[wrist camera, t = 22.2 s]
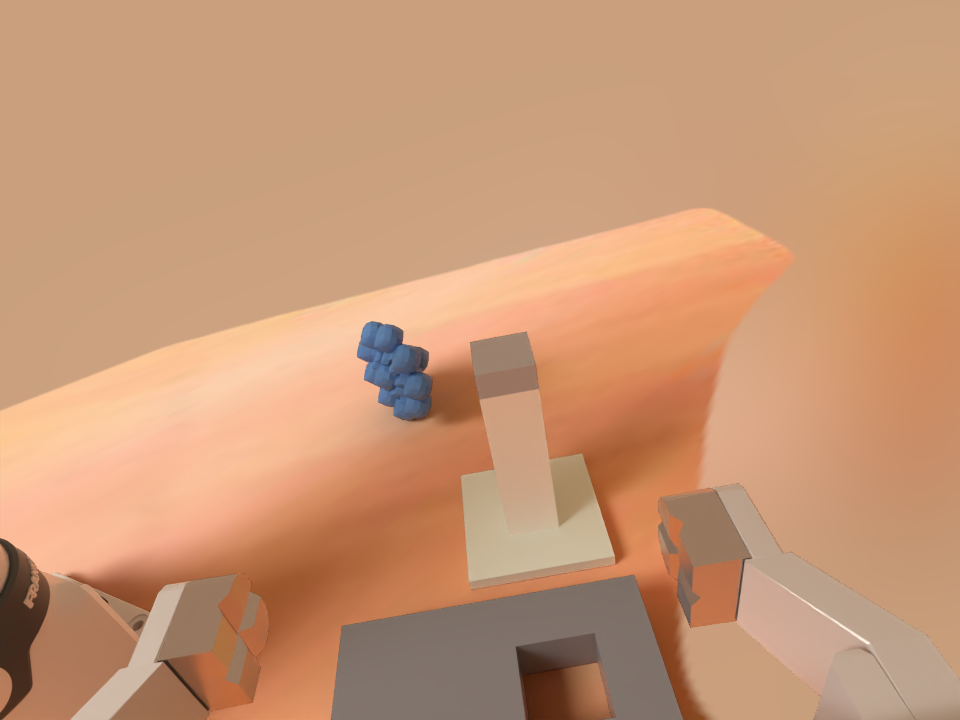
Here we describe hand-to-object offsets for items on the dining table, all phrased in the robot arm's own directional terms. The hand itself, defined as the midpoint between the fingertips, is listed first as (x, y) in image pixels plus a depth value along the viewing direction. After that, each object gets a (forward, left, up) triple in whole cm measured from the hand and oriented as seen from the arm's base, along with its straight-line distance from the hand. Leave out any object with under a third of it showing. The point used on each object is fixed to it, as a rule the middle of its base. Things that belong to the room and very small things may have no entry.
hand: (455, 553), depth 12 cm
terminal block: (-9, +7, -30) cm, 32 cm away
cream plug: (-15, +21, -29) cm, 39 cm away
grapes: (-33, +27, -30) cm, 53 cm away
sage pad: (-15, +21, -30) cm, 39 cm away
